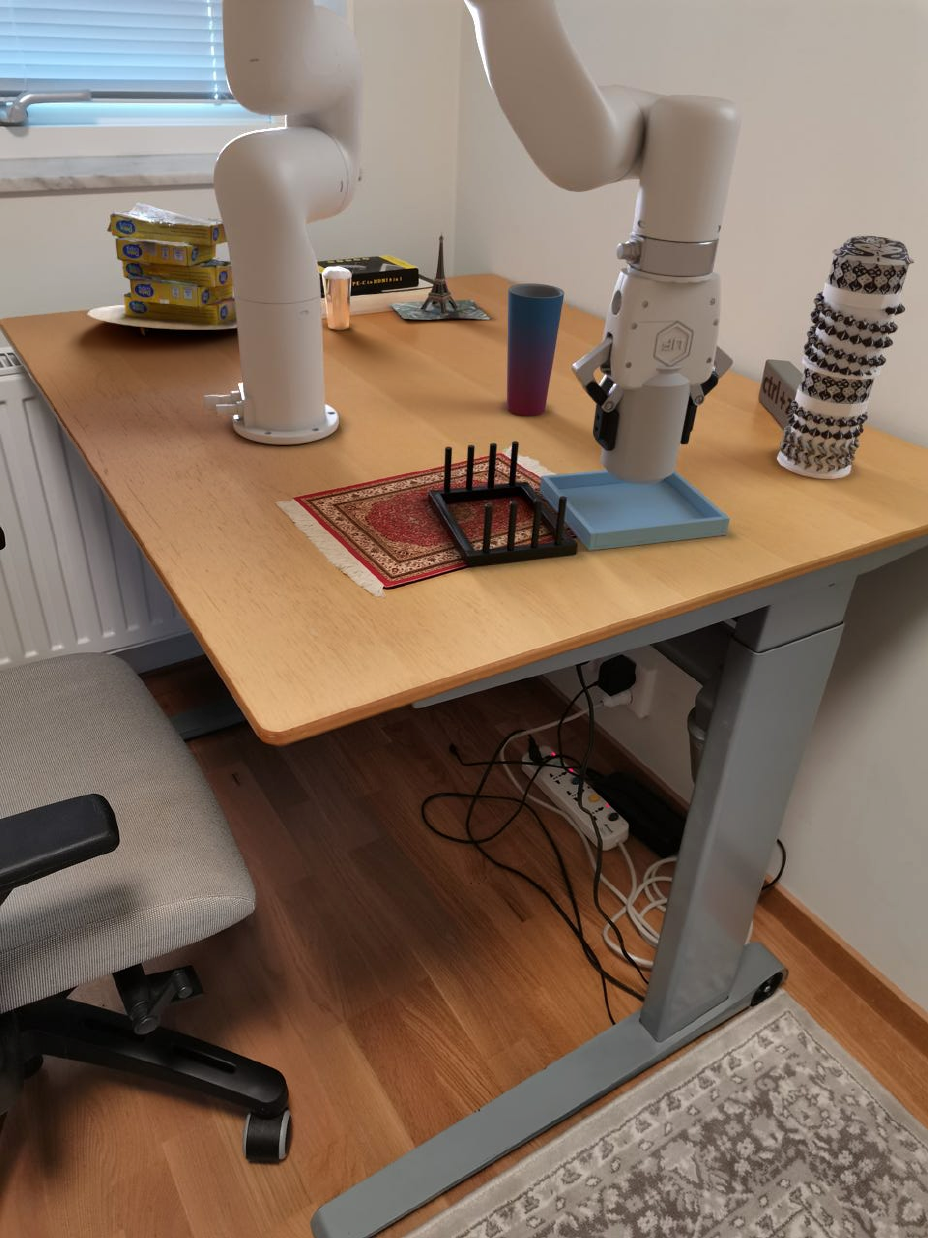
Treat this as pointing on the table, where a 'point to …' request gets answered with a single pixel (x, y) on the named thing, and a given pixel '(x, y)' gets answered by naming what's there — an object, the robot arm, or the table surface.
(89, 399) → the table surface
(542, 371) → the cup
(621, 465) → the can
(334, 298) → the glass of beer
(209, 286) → the stacked yellow boxes
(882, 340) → the decorative candle
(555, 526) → the dish rack
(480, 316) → the eiffel tower figurine
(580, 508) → the tray
